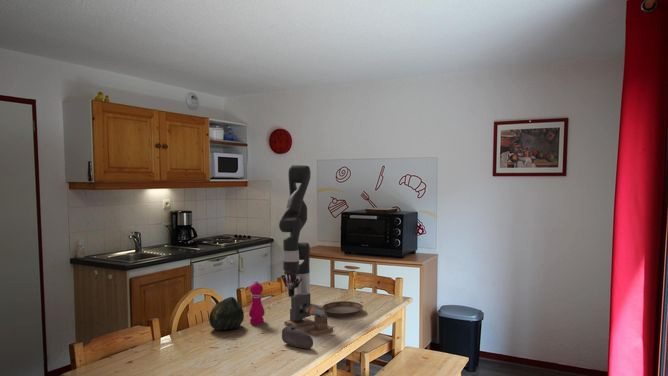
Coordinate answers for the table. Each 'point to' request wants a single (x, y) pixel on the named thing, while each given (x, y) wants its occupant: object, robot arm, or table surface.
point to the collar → (295, 305)
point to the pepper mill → (256, 304)
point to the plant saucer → (342, 309)
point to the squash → (226, 315)
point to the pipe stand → (311, 325)
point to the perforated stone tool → (296, 337)
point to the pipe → (312, 311)
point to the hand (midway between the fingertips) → (291, 296)
